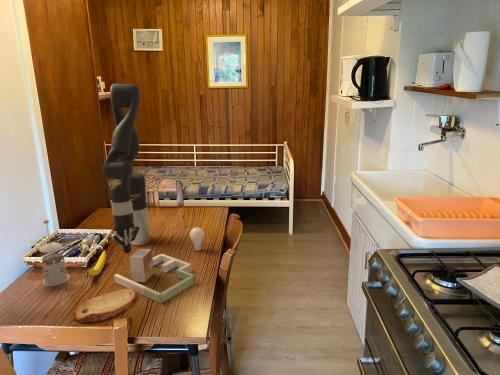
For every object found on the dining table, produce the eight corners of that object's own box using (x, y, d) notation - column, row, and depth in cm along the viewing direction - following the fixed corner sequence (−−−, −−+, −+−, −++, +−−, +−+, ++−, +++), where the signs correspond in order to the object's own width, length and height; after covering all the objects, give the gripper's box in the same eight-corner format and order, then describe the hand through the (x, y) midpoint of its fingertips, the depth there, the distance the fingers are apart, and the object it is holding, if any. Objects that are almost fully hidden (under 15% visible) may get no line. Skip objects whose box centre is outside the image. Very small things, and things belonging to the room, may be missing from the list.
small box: (145, 283, 146) (142, 257, 143) (131, 281, 147) (129, 256, 145) (154, 273, 154) (152, 248, 151) (141, 271, 155) (139, 248, 152)
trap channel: (115, 282, 147) (114, 275, 146) (160, 259, 165) (160, 253, 164) (161, 303, 133) (160, 295, 132) (205, 276, 151) (205, 269, 150)
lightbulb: (207, 248, 175) (206, 226, 172) (201, 254, 170) (199, 231, 167) (194, 246, 177) (193, 224, 174) (188, 252, 172) (186, 229, 169)
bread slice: (140, 293, 140) (139, 283, 139) (125, 323, 123) (124, 313, 122) (91, 294, 140) (89, 285, 139) (69, 324, 123) (67, 314, 122)
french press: (42, 288, 144) (30, 226, 137) (42, 275, 154) (31, 216, 147) (70, 282, 148) (60, 221, 141) (69, 269, 158) (59, 212, 151)
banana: (109, 260, 165) (107, 247, 163) (94, 283, 147) (92, 268, 145) (102, 261, 165) (101, 247, 163) (87, 283, 147) (84, 268, 145)
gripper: (130, 205, 156) (134, 245, 161) (102, 214, 146) (107, 256, 150) (142, 208, 152) (146, 249, 156) (114, 218, 141) (119, 261, 146)
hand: (127, 252), depth 153 cm, fingers closed
